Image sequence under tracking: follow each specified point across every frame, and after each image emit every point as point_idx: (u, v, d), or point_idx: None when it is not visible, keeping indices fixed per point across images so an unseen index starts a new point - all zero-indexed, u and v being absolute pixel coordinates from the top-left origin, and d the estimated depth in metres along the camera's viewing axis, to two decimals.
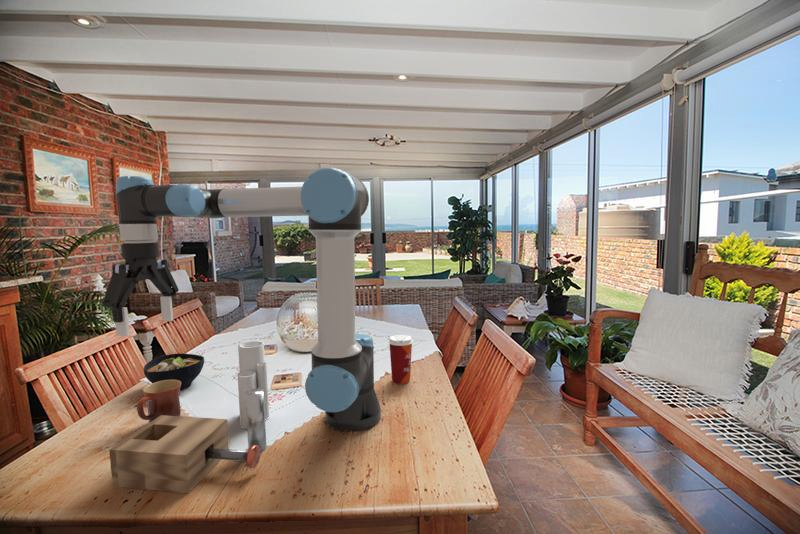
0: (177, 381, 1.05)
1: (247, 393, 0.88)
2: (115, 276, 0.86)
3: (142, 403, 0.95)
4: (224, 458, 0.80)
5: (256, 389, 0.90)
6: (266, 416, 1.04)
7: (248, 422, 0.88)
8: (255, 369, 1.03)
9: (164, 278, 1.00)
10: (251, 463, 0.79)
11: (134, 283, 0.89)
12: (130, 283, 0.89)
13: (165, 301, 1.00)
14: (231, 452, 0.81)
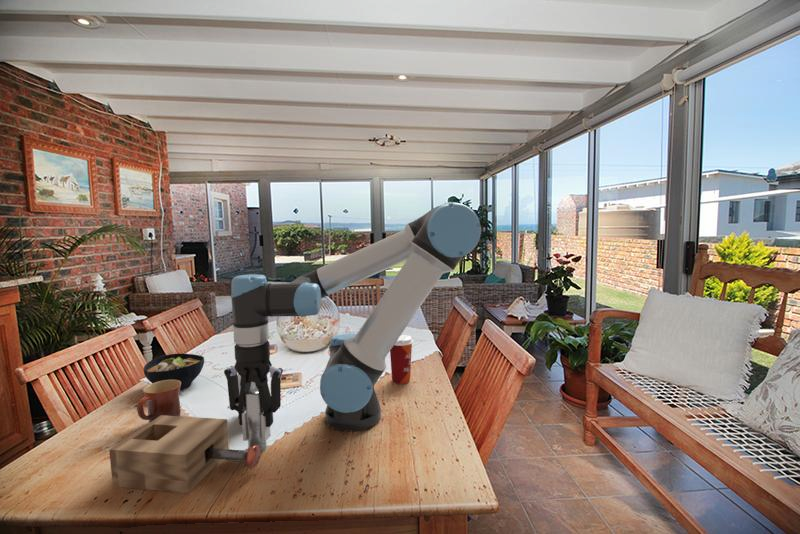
0: (177, 381, 1.05)
1: (247, 393, 0.88)
2: None
3: (142, 403, 0.95)
4: (224, 458, 0.80)
5: (256, 389, 0.90)
6: None
7: (248, 422, 0.88)
8: None
9: None
10: (251, 463, 0.79)
11: (243, 387, 0.88)
12: None
13: None
14: (231, 452, 0.81)
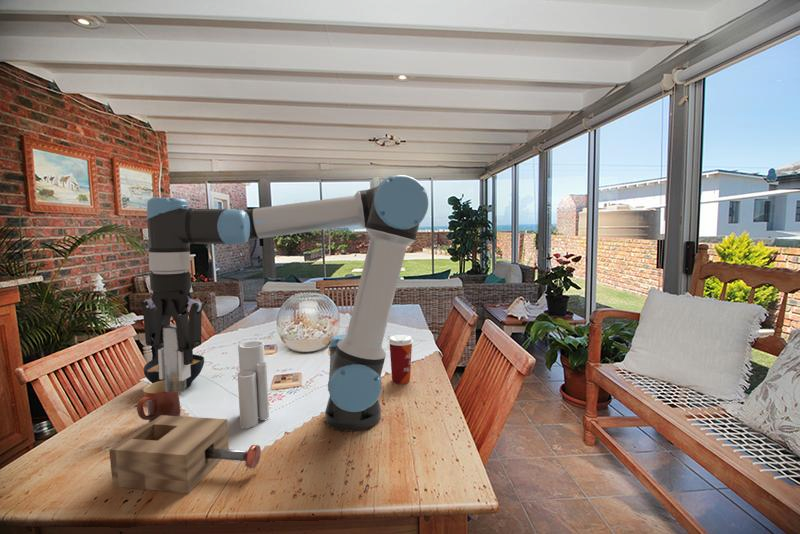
0: None
1: (164, 327, 0.81)
2: None
3: (142, 403, 0.95)
4: (224, 458, 0.80)
5: None
6: (266, 416, 1.04)
7: (164, 358, 0.81)
8: (255, 369, 1.03)
9: None
10: (251, 463, 0.79)
11: (160, 320, 0.81)
12: None
13: None
14: (231, 452, 0.81)
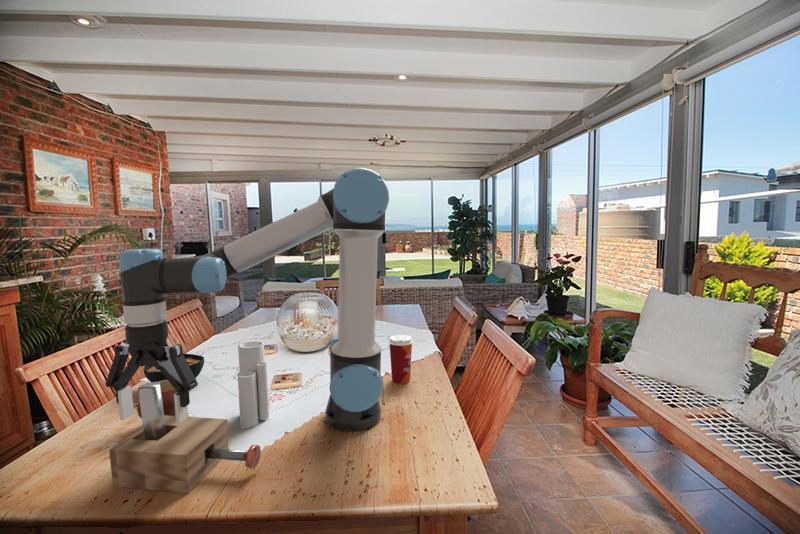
0: None
1: (140, 387, 0.81)
2: None
3: None
4: (224, 458, 0.80)
5: (153, 383, 0.83)
6: (266, 416, 1.04)
7: (142, 419, 0.81)
8: (255, 369, 1.03)
9: None
10: (251, 463, 0.79)
11: (129, 368, 0.81)
12: None
13: None
14: (231, 452, 0.81)
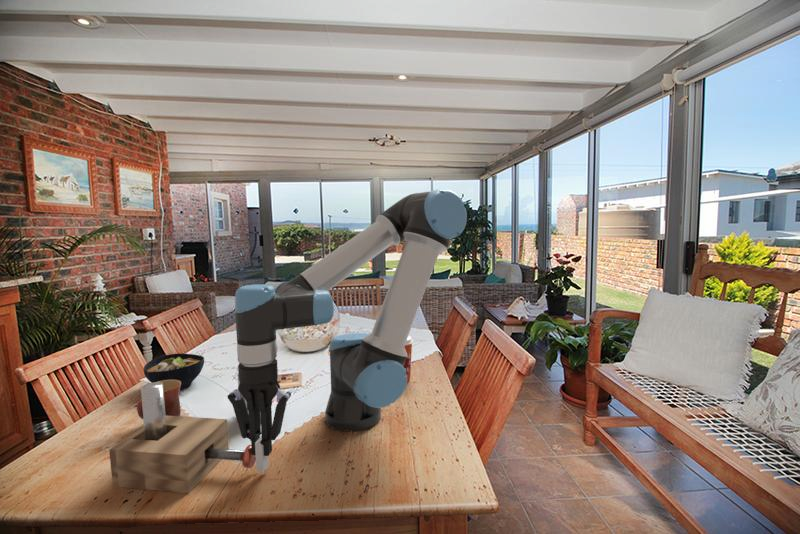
0: (177, 381, 1.05)
1: (143, 387, 0.81)
2: None
3: None
4: (221, 458, 0.81)
5: (155, 383, 0.83)
6: None
7: (144, 418, 0.81)
8: None
9: None
10: (248, 463, 0.79)
11: (251, 411, 0.78)
12: None
13: None
14: (228, 452, 0.81)
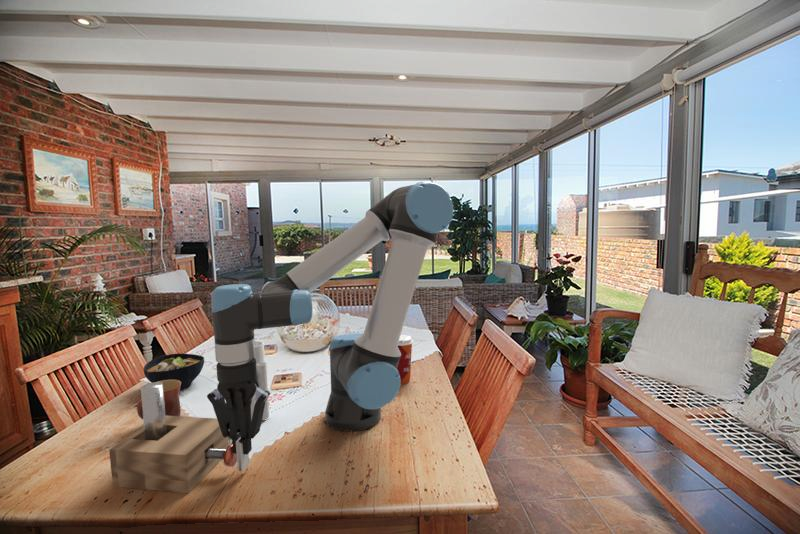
0: (177, 381, 1.05)
1: (143, 387, 0.81)
2: None
3: None
4: None
5: (155, 383, 0.83)
6: (266, 416, 1.04)
7: (144, 419, 0.81)
8: None
9: None
10: (229, 461, 0.79)
11: (231, 410, 0.78)
12: None
13: None
14: (210, 450, 0.81)
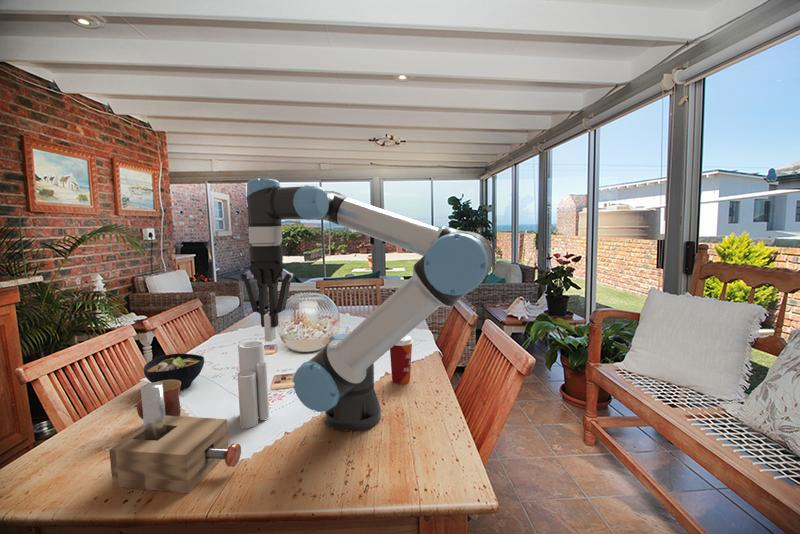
0: (177, 381, 1.05)
1: (143, 387, 0.81)
2: None
3: None
4: None
5: (155, 383, 0.83)
6: (266, 416, 1.04)
7: (144, 418, 0.81)
8: (255, 369, 1.03)
9: None
10: (231, 461, 0.79)
11: (261, 288, 0.92)
12: None
13: None
14: (211, 451, 0.81)
